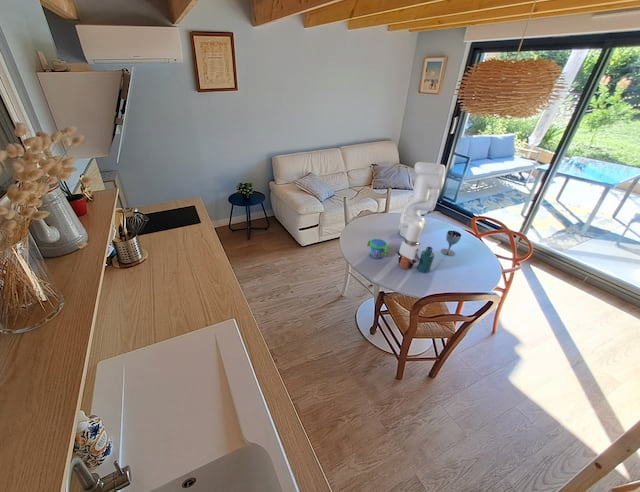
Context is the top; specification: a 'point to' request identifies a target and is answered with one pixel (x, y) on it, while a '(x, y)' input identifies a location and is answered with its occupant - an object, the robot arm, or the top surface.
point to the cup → (405, 262)
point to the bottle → (426, 260)
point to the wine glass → (451, 241)
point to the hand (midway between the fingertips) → (405, 264)
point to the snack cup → (377, 248)
